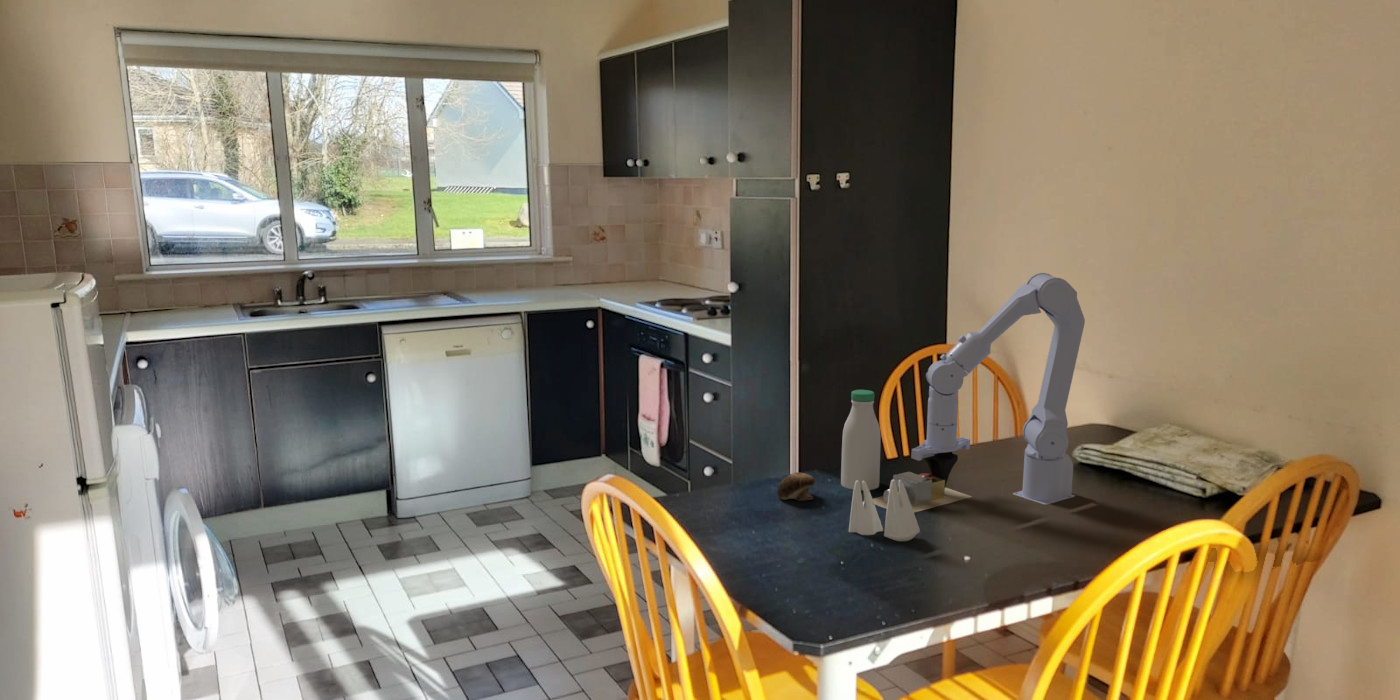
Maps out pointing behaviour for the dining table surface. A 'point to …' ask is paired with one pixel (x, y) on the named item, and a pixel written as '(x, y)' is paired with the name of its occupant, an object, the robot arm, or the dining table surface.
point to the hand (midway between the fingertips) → (939, 488)
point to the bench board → (948, 498)
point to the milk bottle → (861, 443)
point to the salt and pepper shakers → (897, 515)
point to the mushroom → (796, 487)
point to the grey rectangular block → (913, 488)
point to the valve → (936, 486)
